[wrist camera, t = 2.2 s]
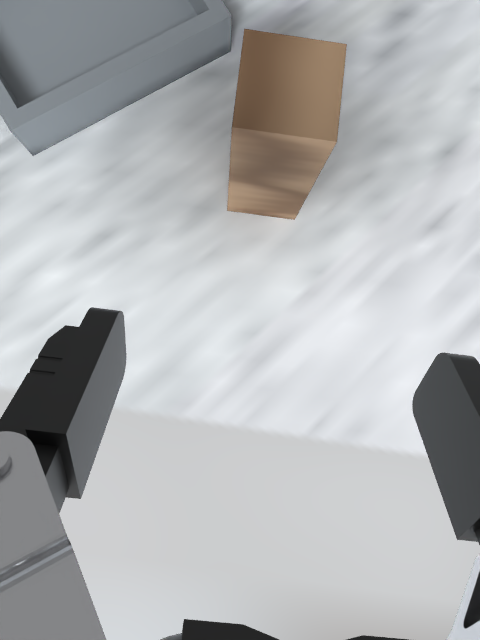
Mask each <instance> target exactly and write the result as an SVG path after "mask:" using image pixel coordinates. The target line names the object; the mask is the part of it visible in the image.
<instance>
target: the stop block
mask: <svg viewBox="0 0 480 640" xmlns="http://www.w3.org/2000/svg"><path fill="white" fill-rule="evenodd" d="M346 46H347V44H342V43H335V42H328V41H322V40H315V39H308V38H302V37H295V36H288V35H282V34H275V33H269V32H262V31H255V30H249V29H244V36H243V44H242V52H241V60H240V68H239V75H238V83H237V91H236V99H235V107H234V115H233V123H232V135H231V153H230V171H229V188H228V206H227V211H234V212H242V213H249V214H257V215H264V216H272V217H279V218H287V219H294V220H295V218H296V216H297V214H298V212H299V210H300V209H301V207H302V205H303V203H304V201H305V199H306V198H307V196H308V194H309V192H310V190H311V188H312V187H313V185H314V183H315V181H316V179H317V177H318V176H319V174H320V172H321V170H322V168H323V166H324V164H325V163H326V161H327V159H328V157H329V155H330V153H331V152H332V150H333V148H334V146H335V144H336V142H337V135H338V125H339V115H340V105H341V95H342V85H343V76H344V66H345V56H346Z"/></svg>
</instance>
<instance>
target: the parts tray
mask: <svg viewBox="0 0 480 640" xmlns="http://www.w3.org/2000/svg"><path fill="white" fill-rule="evenodd" d="M231 21H232V15H231V14H230V12H229V10H228V9H227V7H226V6H225V4H224V2H223V1H222V0H0V114H1V116H2V118H3V119H4V121H5V123H6V124H7V126H8V128H9V130H10V131H11V132H12V133H13V134H14V135H15V137H16V138H17V139H18V140H19V141H20V142H21V143H22V144H23V145H24V146H25V147H26V149H27V150H28V151H29V152H30V153H31V154H32V155H33V156H34V155H36V154H38V153H39V152H41V151H43V150H45V149H47V148H49V147H51V146H53V145H55V144H56V143H58V142H60V141H62V140H64V139H66V138H68V137H70V136H72V135H73V134H75V133H77V132H79V131H81V130H83V129H85V128H87V127H88V126H90V125H92V124H94V123H96V122H98V121H100V120H102V119H104V118H105V117H107V116H109V115H111V114H113V113H115V112H117V111H119V110H121V109H122V108H124V107H126V106H128V105H130V104H132V103H134V102H136V101H137V100H139V99H141V98H143V97H145V96H147V95H149V94H151V93H153V92H154V91H156V90H158V89H160V88H162V87H164V86H166V85H168V84H170V83H171V82H173V81H175V80H177V79H179V78H181V77H183V76H185V75H187V74H188V73H190V72H192V71H194V70H196V69H198V68H200V67H202V66H203V65H205V64H207V63H209V62H211V61H213V60H215V59H217V58H219V57H220V56H222V55H224V54H226V53H228V52H230V48H231Z"/></svg>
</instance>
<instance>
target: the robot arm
mask: <svg viewBox="0 0 480 640" xmlns="http://www.w3.org/2000/svg"><path fill="white" fill-rule="evenodd" d="M125 366H126V344H125V327H124V315H123V312H122V311H116V310H108V309H100V308H90V309H89V310H88V312H87V313H86V315H85V317H84V319H83V321H82V323H81V325H80V327H74V326H64V327H63V328H62V329H60V330H59V331H58V332H57V333H55V334H54V335H53V336H51V337H50V338H49V339H48V340H47V342H46V344H45V345H44V347H43V349H42V350H41V352H40V354H39V355H38V359H36V360H35V362H34V364H33V365H32V367H31V369H30V373H28V374H27V375H26V377H25V379H24V380H23V382H22V384H21V385H20V387H19V389H18V390H17V392H16V394H15V395H14V397H13V399H12V400H11V402H10V404H9V405H8V407H7V409H6V410H5V412H4V414H3V415H2V417H1V419H0V640H106V638H105V635H104V632H103V630H102V627H101V624H100V621H99V618H98V616H97V613H96V610H95V608H94V605H93V602H92V600H91V597H90V594H89V591H88V589H87V586H86V583H85V580H84V578H83V575H82V572H81V570H80V567H79V564H78V562H77V559H76V556H75V553H74V551H73V548H72V546H71V543H70V541H69V539H68V537H67V534H66V532H65V529H64V527H63V524H62V521H61V518H60V515H59V512H60V510H61V508H62V505H63V502H64V500H65V497H68V498H79V499H81V496H82V494H83V491H84V488H85V485H86V482H87V479H88V477H89V474H90V471H91V468H92V465H93V462H94V460H95V457H96V454H97V451H98V448H99V445H100V442H101V440H102V437H103V434H104V431H105V428H106V425H107V423H108V420H109V417H110V414H111V411H112V408H113V405H114V403H115V400H116V397H117V394H118V391H119V388H120V386H121V383H122V380H123V376H124V372H125ZM413 414H414V417H415V420H416V423H417V426H418V429H419V432H420V434H421V437H422V440H423V443H424V446H425V449H426V452H427V454H428V457H429V460H430V463H431V466H432V469H433V472H434V475H435V477H436V480H437V483H438V486H439V489H440V492H441V495H442V497H443V500H444V503H445V506H446V509H447V512H448V514H449V517H450V520H451V523H452V526H453V529H454V532H455V535H456V538H457V540H466V541H476V542H479V545H480V364H479V362H478V361H477V360H476V359H475V358H474V357H472V356H466V355H458V354H450V353H440V354H438V355H437V356H436V358H435V359H434V361H433V363H432V364H431V366H430V368H429V369H428V371H427V373H426V374H425V376H424V378H423V379H422V381H421V383H420V385H419V386H418V388H417V390H416V391H415V394H414V397H413ZM161 640H279V639H276V638H274V637H271V636H269V635H267V634H264V633H262V632H260V631H257V630H255V629H252V628H250V627H247V626H245V625H241V624H231V623H220V622H209V621H198V620H187V619H184V623H183V630H182V633H181V634H177V635H172V636H169V637H166V638H163V639H161ZM348 640H407V639H396V638H385V637H374V636H360V637H355V638H351V639H348ZM446 640H480V554H479V555H478V556H477V558H476V560H475V562H474V565H473V568H472V571H471V574H470V577H469V580H468V583H467V586H466V589H465V592H464V595H463V598H462V601H461V604H460V607H459V609H458V612H457V615H456V618H455V621H454V624H453V627H452V630H451V632H450V634H449V635H448V637H447V639H446Z"/></svg>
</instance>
